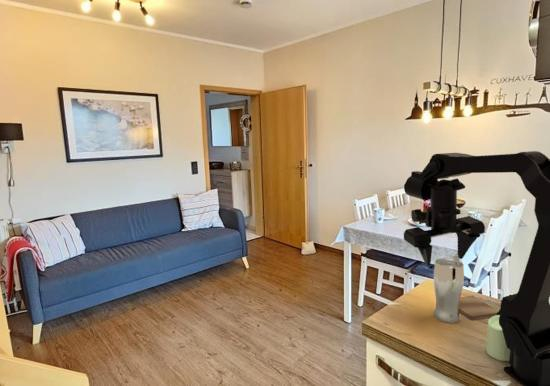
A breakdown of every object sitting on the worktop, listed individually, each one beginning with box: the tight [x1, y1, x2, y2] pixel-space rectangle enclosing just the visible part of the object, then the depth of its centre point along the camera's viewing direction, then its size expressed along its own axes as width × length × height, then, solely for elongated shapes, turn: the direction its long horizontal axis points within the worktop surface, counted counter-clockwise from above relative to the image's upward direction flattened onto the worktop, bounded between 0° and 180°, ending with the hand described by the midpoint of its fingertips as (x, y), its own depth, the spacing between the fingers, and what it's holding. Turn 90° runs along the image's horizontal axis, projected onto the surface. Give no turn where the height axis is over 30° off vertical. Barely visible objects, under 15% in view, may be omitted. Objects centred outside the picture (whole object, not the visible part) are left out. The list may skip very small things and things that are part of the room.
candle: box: [485, 315, 510, 362], centre depth 74 cm, size 5×5×8 cm
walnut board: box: [458, 295, 499, 321], centre depth 94 cm, size 10×9×1 cm
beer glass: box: [433, 258, 465, 324], centre depth 89 cm, size 7×7×15 cm
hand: (444, 261), depth 88 cm, fingers open, 9 cm apart
